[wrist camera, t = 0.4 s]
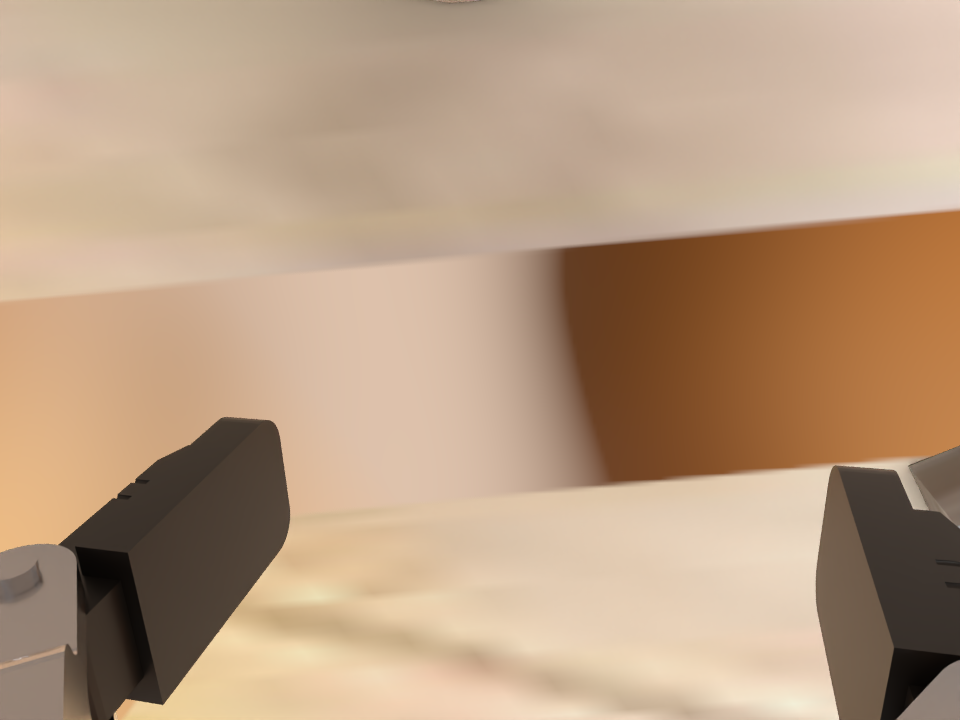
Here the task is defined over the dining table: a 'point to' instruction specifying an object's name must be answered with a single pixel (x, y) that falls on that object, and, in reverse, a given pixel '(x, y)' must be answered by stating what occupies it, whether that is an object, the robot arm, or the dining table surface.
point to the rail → (940, 483)
